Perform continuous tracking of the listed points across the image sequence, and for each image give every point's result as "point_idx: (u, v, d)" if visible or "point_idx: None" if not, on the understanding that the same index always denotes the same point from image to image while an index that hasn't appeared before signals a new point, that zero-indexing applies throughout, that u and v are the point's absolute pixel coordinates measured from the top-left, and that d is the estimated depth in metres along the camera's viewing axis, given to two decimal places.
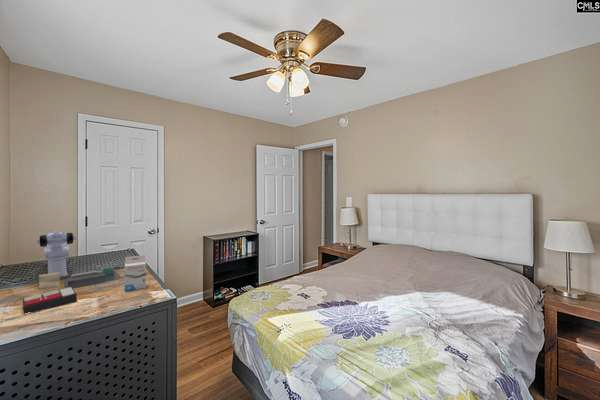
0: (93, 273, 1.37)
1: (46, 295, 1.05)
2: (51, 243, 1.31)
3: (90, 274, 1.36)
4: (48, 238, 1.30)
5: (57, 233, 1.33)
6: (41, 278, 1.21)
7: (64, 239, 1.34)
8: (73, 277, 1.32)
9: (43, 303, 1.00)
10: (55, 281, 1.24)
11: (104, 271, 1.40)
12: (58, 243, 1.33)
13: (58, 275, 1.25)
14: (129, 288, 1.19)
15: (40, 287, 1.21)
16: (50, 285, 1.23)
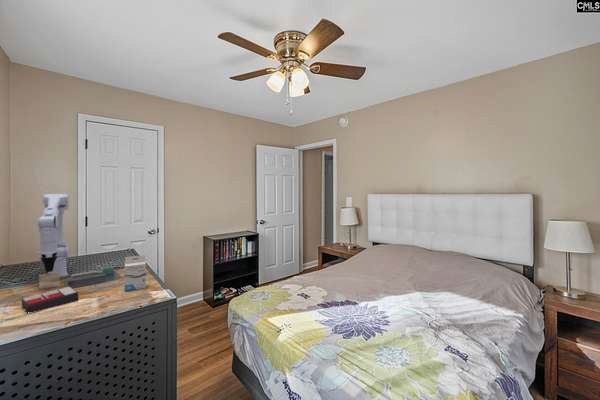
0: (93, 273, 1.37)
1: (46, 295, 1.06)
2: None
3: (90, 274, 1.36)
4: None
5: None
6: (41, 278, 1.21)
7: None
8: (73, 277, 1.32)
9: (46, 302, 1.01)
10: (55, 281, 1.24)
11: (104, 271, 1.40)
12: None
13: (58, 275, 1.25)
14: (129, 288, 1.19)
15: (40, 287, 1.21)
16: (50, 285, 1.23)
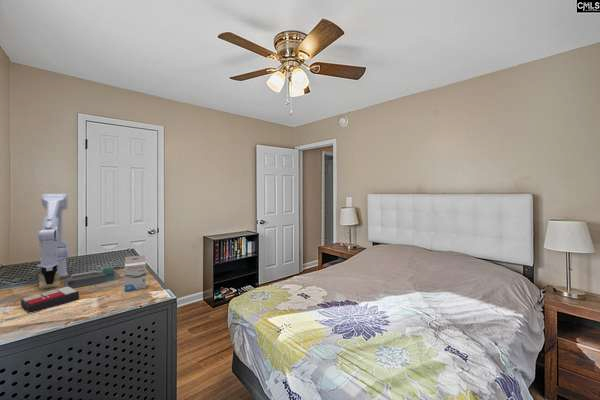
0: (93, 273, 1.37)
1: (46, 294, 1.06)
2: None
3: (90, 274, 1.36)
4: None
5: None
6: (41, 278, 1.21)
7: None
8: (73, 277, 1.32)
9: (47, 302, 1.02)
10: (55, 281, 1.24)
11: (104, 271, 1.40)
12: None
13: (58, 275, 1.25)
14: (129, 288, 1.19)
15: (40, 287, 1.21)
16: (50, 285, 1.23)
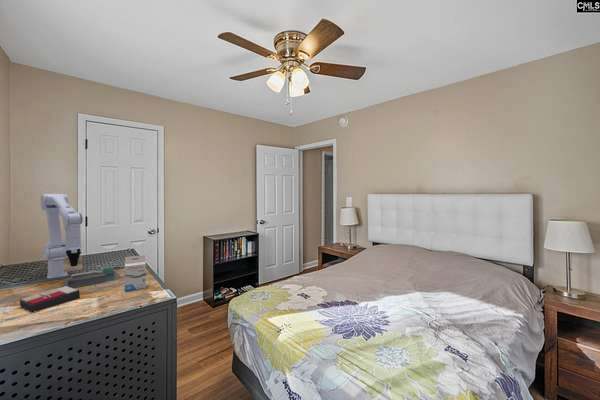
0: (93, 273, 1.37)
1: (46, 294, 1.06)
2: None
3: (90, 274, 1.36)
4: None
5: (65, 249, 1.27)
6: (65, 261, 1.25)
7: None
8: (73, 277, 1.32)
9: (50, 301, 1.02)
10: (78, 264, 1.29)
11: (104, 271, 1.40)
12: (79, 247, 1.30)
13: (81, 258, 1.29)
14: (129, 288, 1.19)
15: (64, 269, 1.25)
16: (73, 268, 1.28)
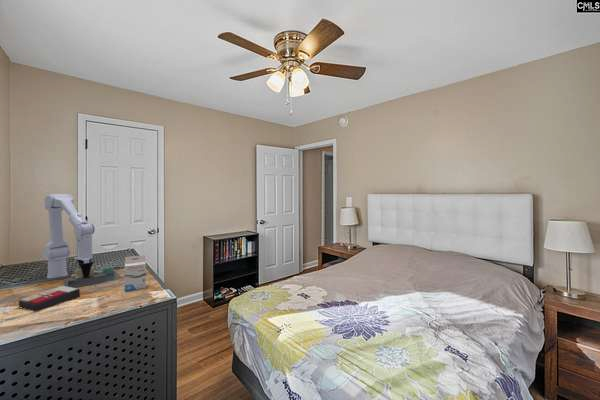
0: None
1: (46, 294, 1.07)
2: None
3: None
4: None
5: None
6: (77, 272, 1.28)
7: None
8: (73, 277, 1.32)
9: (52, 300, 1.03)
10: (90, 275, 1.32)
11: (104, 271, 1.40)
12: None
13: (92, 270, 1.32)
14: (129, 288, 1.19)
15: None
16: None
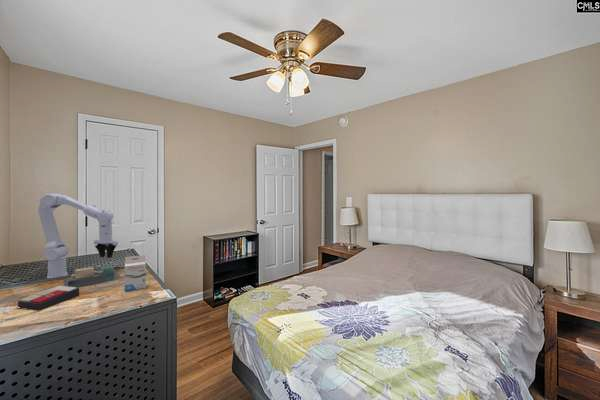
0: None
1: (46, 293, 1.07)
2: None
3: None
4: None
5: (101, 243, 1.44)
6: (77, 272, 1.28)
7: None
8: (73, 277, 1.32)
9: (54, 298, 1.04)
10: (90, 275, 1.32)
11: (104, 271, 1.40)
12: None
13: (92, 270, 1.32)
14: (129, 288, 1.19)
15: None
16: None
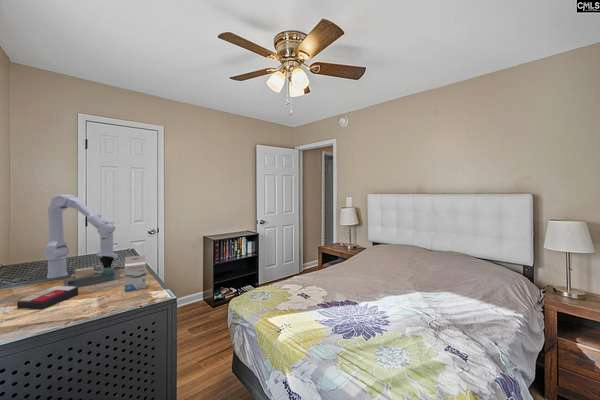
0: None
1: (45, 293, 1.07)
2: None
3: None
4: None
5: None
6: (77, 272, 1.28)
7: None
8: (73, 277, 1.31)
9: (56, 298, 1.05)
10: (90, 275, 1.32)
11: (104, 271, 1.40)
12: None
13: (92, 270, 1.32)
14: (129, 288, 1.19)
15: None
16: None
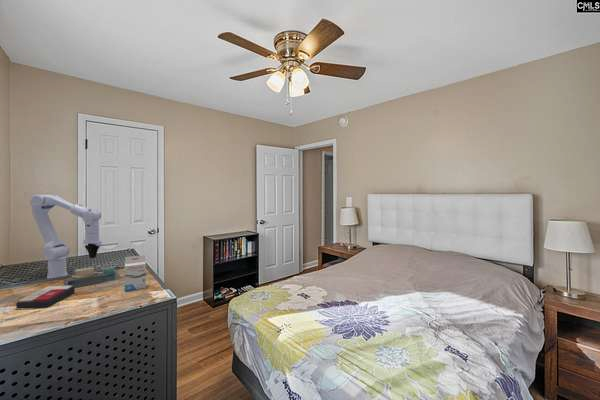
0: (94, 274, 1.35)
1: (43, 293, 1.07)
2: None
3: None
4: None
5: (86, 243, 1.39)
6: (77, 272, 1.28)
7: None
8: (73, 278, 1.30)
9: (58, 296, 1.07)
10: None
11: (105, 272, 1.39)
12: (97, 241, 1.43)
13: (92, 270, 1.32)
14: (129, 288, 1.19)
15: None
16: None
